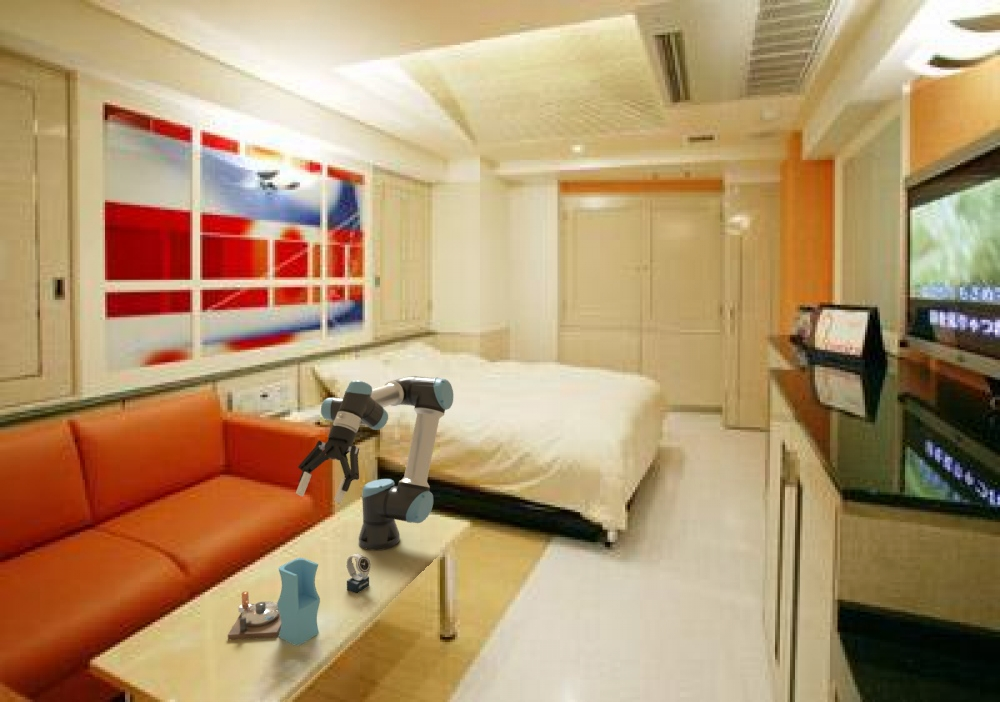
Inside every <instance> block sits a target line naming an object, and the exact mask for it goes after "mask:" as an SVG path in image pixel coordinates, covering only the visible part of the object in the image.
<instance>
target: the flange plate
mask: <svg viewBox="0 0 1000 702" xmlns="http://www.w3.org/2000/svg"><path fill="white" fill-rule="evenodd" d="M249 597H250V595H249V591H242V592H241V604H240V605H239V606H238V607H237V608H238V613H240V614H241V613H242V617H246V625H247V626H261V625H265V624H268V623H270V622H272V621H274V620H275V619H276V618H277V617H278V616H279V614H280V613H279V610H278V607H277V603H278V602H275V601H259V602H255V603H250V600H249V599H250V598H249ZM251 604H253V605H251Z"/></svg>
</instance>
